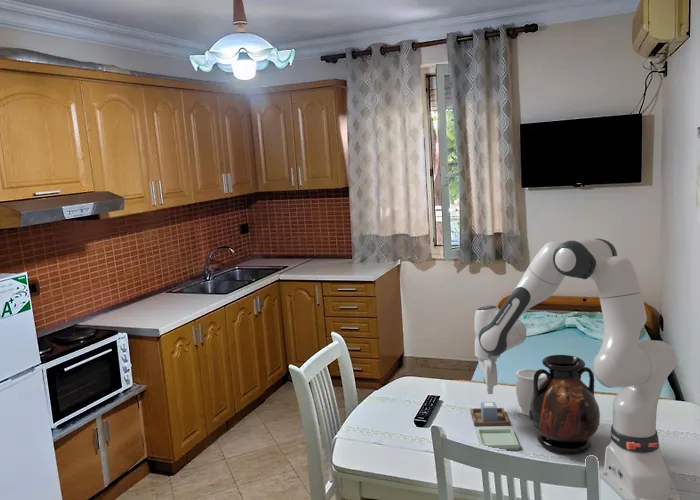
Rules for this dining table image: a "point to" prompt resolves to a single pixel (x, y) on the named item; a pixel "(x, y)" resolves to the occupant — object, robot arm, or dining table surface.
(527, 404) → the jar
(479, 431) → the sage tray
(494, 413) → the letter cube
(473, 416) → the walnut tray
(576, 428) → the amphora vase
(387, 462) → the dining table surface
